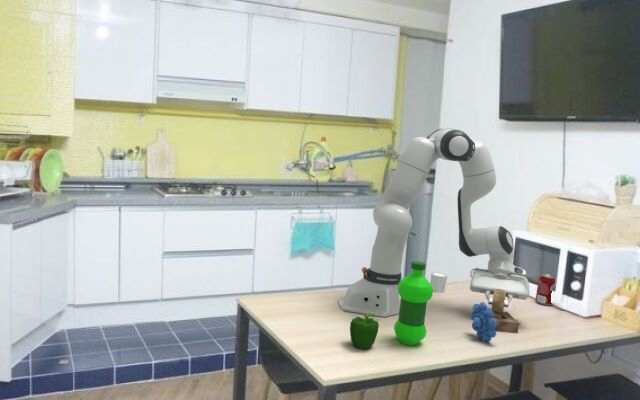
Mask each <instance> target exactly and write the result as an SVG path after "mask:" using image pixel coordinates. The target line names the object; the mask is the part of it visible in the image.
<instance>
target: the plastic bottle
mask: <svg viewBox="0 0 640 400" xmlns="http://www.w3.org/2000/svg"><path fill="white" fill-rule="evenodd" d="M426 266H427V264H426V262H423V261H419V260H417V261H416V260H413V261H411V265H410V268H411V269H412V270H411V273H409V274H407V275H406V276H404V277H402V278H401V280H400V282H399V284H398V293H399V297H400V301H399V305H400V310H399V313H398V316H397V317H398V318H397V320H396V321H395V323H394V325H393V330H394V334H395V335H396V337H397V339H398V340H399V341H400V342H401V343H402V344H404V345H408V346H415V345H417V344H418V343H420V342H421V341H423V340H424V339H425V337H426V335H427V329H426V326H425V319H426V312H427V307H428V306H427V305H428V301H430V300H432V296H433V293H434V292H433V288H432V285H431V282H430V281H429V280H428V279H427V278H426V276H425V275H424V271H426Z"/></svg>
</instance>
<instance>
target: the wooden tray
mask: <svg viewBox="0 0 640 400" xmlns="http://www.w3.org/2000/svg"><path fill="white" fill-rule="evenodd" d="M495 320H496V321H497V326H496V327H495V328H494V329H495V330H496V332H505V333H513V334H514V333H516V334H517V333H519V327H520V322H519V321H518V320H517V319H516V318H515V317H513V315H511V313H509V312H508V311H506V310H505V311H504V310H503V314H502V317H501V319H499V318H495Z"/></svg>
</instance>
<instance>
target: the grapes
mask: <svg viewBox="0 0 640 400" xmlns="http://www.w3.org/2000/svg"><path fill="white" fill-rule="evenodd" d="M491 308H492V307H491ZM491 308H490V307H488V304H486V302H484V301H481V302H480V303H474V304H473V307H472V309H473V310H472V311H471V312H470V319H471V320H472V323H471V328H472V330H474V331H475V332H476V337H477V338H478V339H479V340H484V342H486V343H489V342H491V341H492V339H493V338H495V337H496V336H497V331H496V330H495V329H494V328H495V327H496V326H497V321H496V320H495V318H493V310H492V309H491Z"/></svg>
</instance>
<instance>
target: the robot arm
mask: <svg viewBox="0 0 640 400" xmlns="http://www.w3.org/2000/svg"><path fill="white" fill-rule="evenodd" d="M438 159H442V160H444V161H452V162H458V164H459V166H460V168H461V173H462V178H463V183H462V187H461V188H460V189H459V190H458V192H457V216H458V217H457V218H458V219H457V220H458V221H457V222H458V246H459V251H460V252H461V253H462V254H464V255H465V256H466V257H468V258H471V257H472V258H473V257H476V256H477V257H478V256H479V255H488V257H489V260H488V264H487V269H485V268H479V267H475V268H472V269H471V270H470V275H469V276H470V278H471V279H470V284H469V289H470V291H471V292H473V293H480V294H485V298H486V299H487V305H491V306H492V304H493V297H491V296H490V295H493V294H494V289H502V290H505V291H506V296H505V298H507V300H505V303H504V308H509V306H510V302H512V300H513V299H515V300H516V299H517V300H523V301H525V300H527V299H528V298H529V297H530V283H529V280H528V278H527V277H526V276H527V271H526V270H525V269H523V268H521V267H519V266H516V265H515V264H514V262H513V261H514V260H513V259H514V255H515V253H514V251H515V249H514V248H515V247H514V238H513V235H512V234H511V232H510V231H509V230H508V229H506V227H504V226H501V225H500V226H499V225H498V226H489V227H488V226H487V227H481V228H473V227H472V216H471V207H472V205H473V203H475V202H477V201H478V200H480V199H482V198H484V197H486V196H487V195H488V194H490V192H492V191H493V189H494V188H495V186H496V183H497V178H496V177H497V176H496V170H495V166H494V163H493V159H492V156H491V153H490V151H489V149H488V147H487V145H486V144H485V143H484V142H483V141H480V140H473V139H471V137H470V136H469V135H468V134H467V133H466V132H464V131H462V130H460V129H454V128H448V127H447V128H438V129H437V130H436V129H435V131H433V132H431V134H430V135H428V136H427V137H423V136H417V137H413V138H412V139H411V140H410V142H409V143H408V145H407V146H406V148H405V149H404V151H403V152H402V155H401V157H400V159H399V162H398V163H397V166H396V168H395V170H394V172H393V174H392V177H391V179H390V182H389V183H388V185H387V186H386V189H385V190H384V192H383V193H382V195H381V196H380V198H379V200H378V202H377V203H376V204H375V206H374V208H373V212H372V216H373V221H374V223H375V224H376V226H377V232H376V235H375V239H374V240H375V241H374V244H373V245H372V247H371V249H372V250H371V256H370V257H371V259H370V265H369V268H367V267H365V266H364V267H362V268H361V272H362V273H363V277H362V278H361V279H359V280H358V281H355V282H354V283H352V284H350V285H349V286H348V287H347V290H346V293H345V295H344V296H342V297H339V299H338V307H339V308H340V310H343V311H345V312H350V313H356V314H363V315H367V314H368V313H373V314H374V316H375V317H380V318H381V317H382V318H388V317H389V316H393V315H399V310H400V295H399V293H398V284H399V282H400V280H402V279H403V276H402V272H401V271H402V264H403V255H404V250H405V246H406V244H407V241H408V237H409V233H410V231H411V229H412V227H413V218H412V215H411V214H410V211H409V209H410V206H412V204H413V202H414V201H415V200H416V198H417V197H419V195H420V194H421V192H422V189H423V187H424V184H425V182H426V180H427V178H428V176H429V173H430V171H431V168H432V166H433V165H434V163H435V162H436V161H437V160H438ZM374 316H373V317H374Z"/></svg>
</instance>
